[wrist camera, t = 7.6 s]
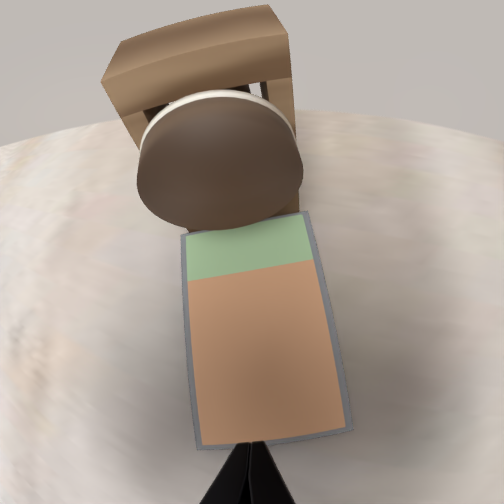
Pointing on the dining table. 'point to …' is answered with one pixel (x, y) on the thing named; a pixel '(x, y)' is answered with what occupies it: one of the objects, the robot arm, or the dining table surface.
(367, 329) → the dining table surface
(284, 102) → the block
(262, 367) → the board
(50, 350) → the dining table surface
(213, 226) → the peg
